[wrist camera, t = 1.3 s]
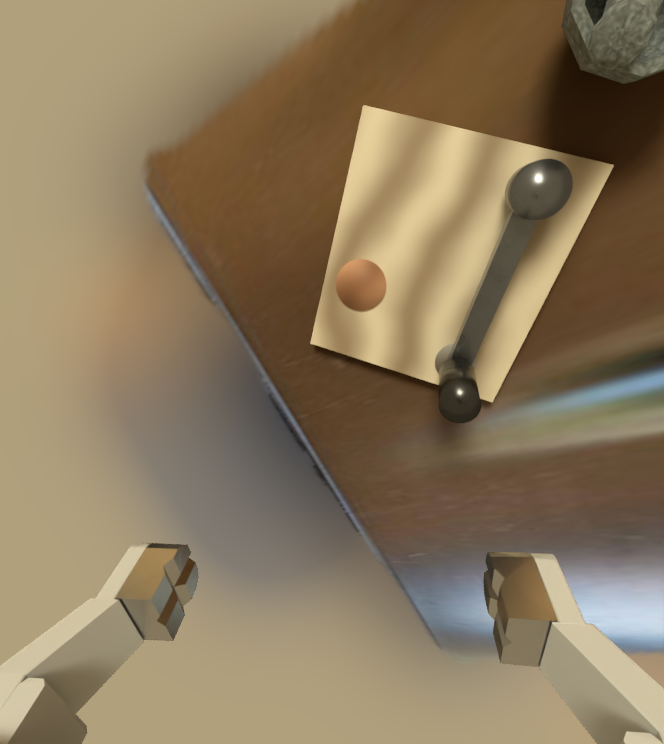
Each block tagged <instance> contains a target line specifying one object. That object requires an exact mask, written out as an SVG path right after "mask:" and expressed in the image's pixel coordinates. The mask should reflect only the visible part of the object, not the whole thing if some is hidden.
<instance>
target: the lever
mask: <svg viewBox="0 0 664 744" xmlns="http://www.w3.org/2000/svg"><path fill="white" fill-rule="evenodd" d="M572 188H573V178H572V174H571V172H570V170H569V168H568V167H567V166H566V165H565V164H564V163H562V162H560V161H558V160H555V159H541V160H538V161H535V162H532V163H529V164H526V165H524V166H522V167H521V168H519V169H518V170H517V171H516V172H515V173H514V174H513V175H512V176H511V178H510V179H509V181H508V183H507V186H506V189H505V202H506V205H507V207H508V209H509V210H510V212H509V214H508V216H507V219H506V221H505V223H504V226H503V228H502V231H501V233H500V235H499V238H498V240H497V243H496V245H495V247H494V250H493V252H492V254H491V257H490V259H489V262H488V264H487V266H486V269H485V271H484V274H483V276H482V278H481V281H480V283H479V285H478V288H477V290H476V293H475V295H474V297H473V300H472V302H471V305H470V307H469V309H468V312H467V314H466V316H465V319H464V321H463V324H462V326H461V328H460V331H459V333H458V336H457V338H456V340H455V343H454V345H453V347H452V350H451V352H450V355H449V357H448V359H447V360H445V361H444V362H443V363H442V365H441V366H440V369H439V409H440V412H441V414H442V415H443V416H444V417H445V418H446V419H447V420H449V421H452V422H455V423H465V422H469V421H471V420H473V419H474V418H475V417H476V416H477V415H478V414H479V412H480V410H481V401H480V396H479V391H478V386H477V381H476V376H475V371H474V367H473V365H472V363H473V361H474V359H475V357H476V355H477V352H478V350H479V348H480V346H481V344H482V342H483V339H484V337H485V335H486V333H487V331H488V328H489V326H490V324H491V322H492V320H493V317H494V315H495V313H496V311H497V309H498V307H499V304H500V302H501V300H502V298H503V296H504V293H505V291H506V289H507V287H508V285H509V282H510V280H511V278H512V276H513V274H514V272H515V269H516V267H517V265H518V263H519V261H520V258H521V256H522V254H523V252H524V250H525V247H526V245H527V243H528V241H529V239H530V237H531V234H532V232H533V230H534V228H535V226H536V223H537V221H538V220H542V219H546V218H548V217H551V216H553V215H554V214H556V213H557V212H558V211H560V210H561V209H562V208H563V207H564V205H565V204H566V203H567V201H568V199H569V197H570V195H571V192H572Z"/></svg>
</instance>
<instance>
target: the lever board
mask: <svg viewBox="0 0 664 744" xmlns="http://www.w3.org/2000/svg"><path fill="white" fill-rule="evenodd" d="M541 159H555V160H558V161H560V162H562V163H564V164H565V165H566V166H567V167H568V168H569V170H570V172H571V174H572V178H573V188H572V192H571V195H570V197H569V199H568V201H567V203H566V204H565V205H564V207H563V208H562V209H561V210H560V211H558V212H557V213H556V214H554V215H553V216H551V217H548V218H546V219H542V220H538V221H537V223H536V226H535V228H534V230H533V232H532V234H531V237H530V239H529V241H528V243H527V245H526V247H525V250H524V252H523V254H522V256H521V258H520V261H519V263H518V265H517V267H516V269H515V272H514V274H513V276H512V278H511V280H510V282H509V285H508V287H507V289H506V291H505V293H504V296H503V298H502V300H501V302H500V304H499V307H498V309H497V311H496V313H495V315H494V317H493V320H492V322H491V324H490V326H489V328H488V331H487V333H486V335H485V337H484V339H483V342H482V344H481V346H480V348H479V350H478V352H477V355H476V357H475V359H474V361H473V363H472V365H473V367H474V371H475V376H476V381H477V386H478V391H479V396H480V399H483V400H486V401H489V402H493V400H494V398H495V396H496V395H497V393H498V391H499V389H500V387H501V385H502V383H503V381H504V379H505V377H506V375H507V373H508V371H509V369H510V367H511V365H512V363H513V361H514V359H515V358H516V356H517V354H518V352H519V350H520V348H521V346H522V344H523V342H524V340H525V338H526V336H527V334H528V332H529V330H530V328H531V326H532V324H533V322H534V320H535V319H536V317H537V315H538V313H539V311H540V309H541V307H542V305H543V303H544V301H545V299H546V297H547V295H548V293H549V291H550V289H551V287H552V285H553V283H554V282H555V280H556V278H557V276H558V274H559V272H560V270H561V268H562V266H563V264H564V262H565V260H566V258H567V256H568V254H569V252H570V250H571V248H572V246H573V244H574V243H575V241H576V239H577V237H578V235H579V233H580V231H581V229H582V227H583V225H584V223H585V221H586V219H587V217H588V215H589V213H590V211H591V209H592V207H593V206H594V204H595V202H596V200H597V198H598V196H599V194H600V192H601V190H602V188H603V186H604V184H605V182H606V180H607V178H608V176H609V174H610V172H611V170H612V168H613V167H614V165H612V164H608V163H604V162H599V161H595V160H591V159H587V158H583V157H579V156H574V155H570V154H566V153H562V152H558V151H553V150H549V149H545V148H541V147H537V146H533V145H528V144H524V143H520V142H516V141H512V140H507V139H503V138H499V137H495V136H491V135H487V134H482V133H478V132H474V131H470V130H466V129H461V128H457V127H453V126H449V125H445V124H441V123H436V122H432V121H428V120H424V119H420V118H415V117H411V116H407V115H403V114H399V113H395V112H390V111H386V110H382V109H378V108H374V107H369V106H365V105H363V109H362V113H361V118H360V122H359V127H358V131H357V136H356V140H355V145H354V149H353V154H352V158H351V163H350V167H349V172H348V176H347V181H346V185H345V190H344V194H343V199H342V203H341V208H340V212H339V217H338V221H337V226H336V230H335V235H334V239H333V244H332V248H331V253H330V257H329V262H328V266H327V271H326V275H325V280H324V284H323V289H322V293H321V298H320V302H319V307H318V311H317V316H316V320H315V325H314V329H313V334H312V338H311V343H310V344H314V345H317V346H320V347H323V348H326V349H329V350H332V351H335V352H338V353H341V354H344V355H347V356H350V357H354V358H357V359H360V360H363V361H366V362H369V363H372V364H375V365H378V366H381V367H384V368H387V369H391V370H394V371H397V372H400V373H403V374H406V375H409V376H412V377H415V378H418V379H421V380H424V381H427V382H431V383H434V384H437V385H439V369H440V366H441V365H442V363H443V362H444V361H445V360H447V359H448V357H449V355H450V352H451V350H452V347H453V345H454V343H455V340H456V338H457V336H458V333H459V331H460V328H461V326H462V324H463V321H464V319H465V316H466V314H467V312H468V309H469V307H470V305H471V302H472V300H473V297H474V295H475V293H476V290H477V288H478V285H479V283H480V281H481V278H482V276H483V274H484V271H485V269H486V266H487V264H488V262H489V259H490V257H491V254H492V252H493V250H494V247H495V245H496V243H497V240H498V238H499V235H500V233H501V231H502V228H503V226H504V223H505V221H506V219H507V216H508V214H509V212H510V210H509V209H508V207H507V205H506V202H505V189H506V186H507V183H508V181H509V179H510V178H511V176H512V175H513V174H514V173H515V172H516V171H517V170H518V169H519V168H521V167H522V166H524V165H526V164H529V163H532V162H535V161H538V160H541Z"/></svg>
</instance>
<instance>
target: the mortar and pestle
mask: <svg viewBox="0 0 664 744" xmlns="http://www.w3.org/2000/svg"><path fill="white" fill-rule="evenodd" d="M562 29H563V31H564V33H565V36H566V38H567V40H568V42H569V45H570V47H571V49H572V51H573V54H574V56H575V58H576V61H577V63H578V65H579V67H580V70H583V71H586V72H589V73H592V74H595V75H598V76H601V77H604V78H607V79H610V80H613V81H616V82H619V83H622V84H626V83H632V82H635V81H637V80H640V79H643V78H646V77H648V76H651V75H654V74H657V73H659V72H662V71H664V0H567V2H566V7H565V12H564V17H563V22H562Z"/></svg>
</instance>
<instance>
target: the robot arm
mask: <svg viewBox="0 0 664 744" xmlns="http://www.w3.org/2000/svg"><path fill="white" fill-rule="evenodd" d="M190 554H191V551H190V549H189V547H188V545H182V544H159V543H137V542H136V543H135V544H133V545H132V546H131V547H130V548H129V549H128V551H127V552H126V554H125V555H124V557H123V558H122V560H121V561H120V563H119V564H118V566H117V567H116V569H115V570H114V572H113V573H112V575H111V576H110V578H109V579H108V581H107V582H106V584H105V585H104V587H103V588H102V590H101V591H100V593H99V594H98V596H97V597H96V598H91V599H89V600H88V601H86V602H85V603H84V604H82V605H81V606H80V607H78V608H77V609H76V610H74V611H73V612H72V613H70V614H69V615H68V616H66V617H65V618H64V619H62V620H61V621H60V622H58V623H57V624H56V625H54V626H53V627H52V628H50V629H49V630H48V631H46V632H45V633H43V634H42V635H41V636H40V637H38V638H37V639H36V640H34V641H33V642H32V643H30V644H29V645H27V646H26V647H25V648H23V649H22V650H21V651H19V652H18V653H17V654H15V655H14V656H13V657H11V658H10V659H9V660H8V661H6V662H5V663H3V664H2V665H1V666H0V744H82V742H83V740H84V738H85V736H86V734H87V726H86V725H85V724H84V723H83V721H82V720H81V719H80V718H79V717H78V716H77V715H76V713H77V712H78V711H79V710H80V708H82V706H83V705H84V704H85V703H86V702H87V701H88V700H89V699H90V698H91V697H92V696H93V695H94V694H95V693H96V692H97V691H98V690H99V689H100V687H102V685H103V684H104V683H105V682H106V681H107V680H108V679H109V678H110V677H111V676H112V675H113V674H114V673H115V672H116V671H117V670H118V669H119V668H120V667H121V666H122V664H123V663H124V662H125V661H126V660H127V659H128V658H129V657H130V656H131V655H132V654H133V653H134V652H135V651H136V650H137V649H138V648H139V647H140V646H141V644H142V643H143V642H144V640H166V641H173V640H174V638H175V635H176V634H177V631H178V629H179V627H180V625H181V622H182V620H183V618H184V616H185V614H184V609H183V606H184V605H185V604H186V603H187V602H189V601H190V600H191V599H192V597H193V595H194V592H195V590H196V587H197V582H198V568H197V565H196V563H195V562H194V561H193V560H191V559H190V558H189V556H190ZM485 562H486V565H487V569H488V570H487V571H486V572H484V581H483V583H484V595H485V601H486V605H487V610H488V613H489V615H490V616H491V617H492V618H493V619H494V620H495V621H494V628H493V635H494V639H495V643H496V647H497V651H498V655H499V659H500V663H503V664H514V665H524V666H535V667H540V668H539V669H540V671H541V672H542V673H543V674H544V676H545V677H546V679H547V680H548V681H549V682H550V684H551V685H552V686H553V687H554V689H555V690H556V691H557V693H558V694H559V695H560V697H561V698H562V699H563V700H564V702H565V703H566V704H567V706H568V707H569V708H570V709H571V711H572V712H573V713H574V715H575V716H576V717H577V718H578V720H579V721H580V722H581V724H582V725H583V726H584V727H585V729H586V730H587V731H588V733H589V734H590V735H591V736H592V738H593V739H594V740H595V742H596V743H597V744H664V689H663V688H662V687H661V686H660V685H659V684H658V683H656V681H654V680H653V679H652V678H651V677H650V676H649V675H648V674H647V673H646V672H645V671H643V670H642V669H641V668H640V667H639V666H638V665H637V664H636V663H635V662H634V661H632V660H631V659H630V658H629V657H628V656H627V655H626V654H625V653H624V652H623V651H622V650H621V649H619V648H618V647H617V646H616V645H615V644H614V643H613V642H612V641H611V640H610V639H608V638H607V637H606V636H605V635H604V634H603V633H602V632H601V631H600V630H599V629H598V628H596V627H595V626H594V625H593V624H586V623H585V621H584V619H583V617H582V614H581V612H580V610H579V608H578V606H577V603H576V601H575V599H574V597H573V594H572V592H571V590H570V588H569V586H568V583H567V581H566V579H565V577H564V575H563V572H562V570H561V568H560V566H559V564H558V561H557V559H556V558H555V557H554V556H553V554H542V553H518V552H488V553H487V555H486V561H485Z"/></svg>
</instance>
